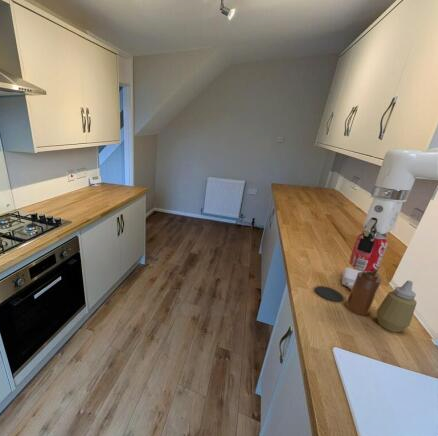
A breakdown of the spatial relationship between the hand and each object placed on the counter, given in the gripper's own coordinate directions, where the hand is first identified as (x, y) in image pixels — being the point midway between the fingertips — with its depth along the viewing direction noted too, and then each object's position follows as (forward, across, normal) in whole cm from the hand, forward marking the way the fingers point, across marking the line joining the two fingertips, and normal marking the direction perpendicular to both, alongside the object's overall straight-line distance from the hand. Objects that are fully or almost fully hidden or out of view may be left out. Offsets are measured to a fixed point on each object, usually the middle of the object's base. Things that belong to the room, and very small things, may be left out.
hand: (369, 248), depth 75 cm
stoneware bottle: (+28, +10, 0) cm, 29 cm away
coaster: (+28, +10, +9) cm, 31 cm away
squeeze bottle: (+28, +9, -10) cm, 31 cm away
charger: (+28, +25, +6) cm, 38 cm away
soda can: (+7, 0, 0) cm, 7 cm away
